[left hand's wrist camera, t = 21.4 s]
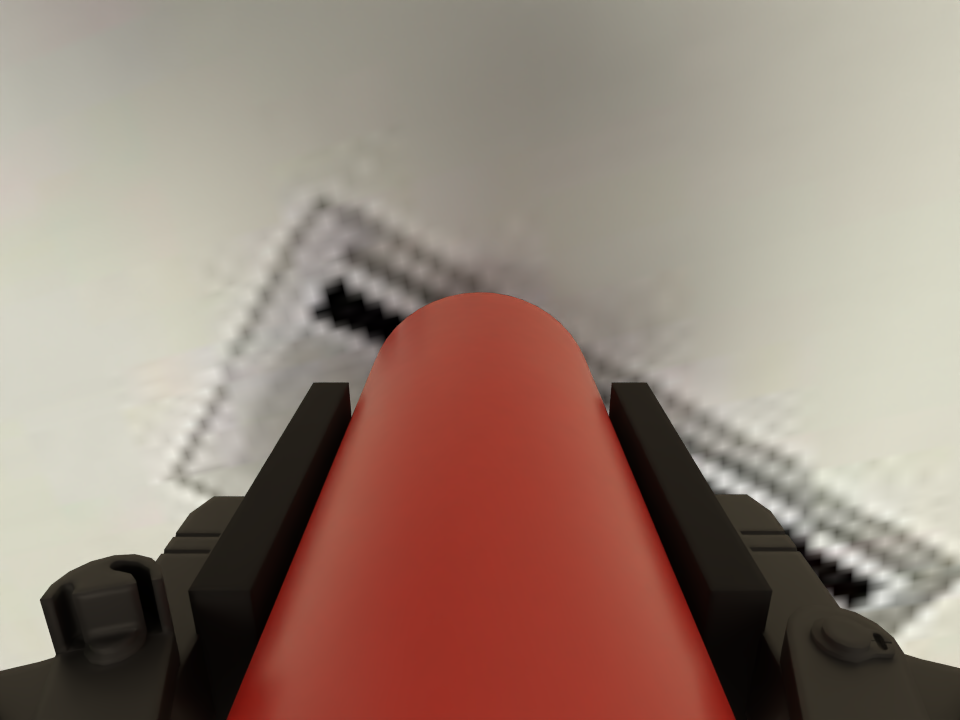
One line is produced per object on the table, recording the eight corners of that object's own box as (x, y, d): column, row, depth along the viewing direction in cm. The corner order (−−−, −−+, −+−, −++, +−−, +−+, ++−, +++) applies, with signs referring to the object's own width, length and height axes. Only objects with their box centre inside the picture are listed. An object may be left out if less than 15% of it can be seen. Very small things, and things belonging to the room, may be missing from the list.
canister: (595, 288, 16) (885, 742, 4) (587, 492, 18) (774, 1158, 6) (359, 294, 16) (60, 759, 5) (378, 496, 18) (204, 1165, 7)
